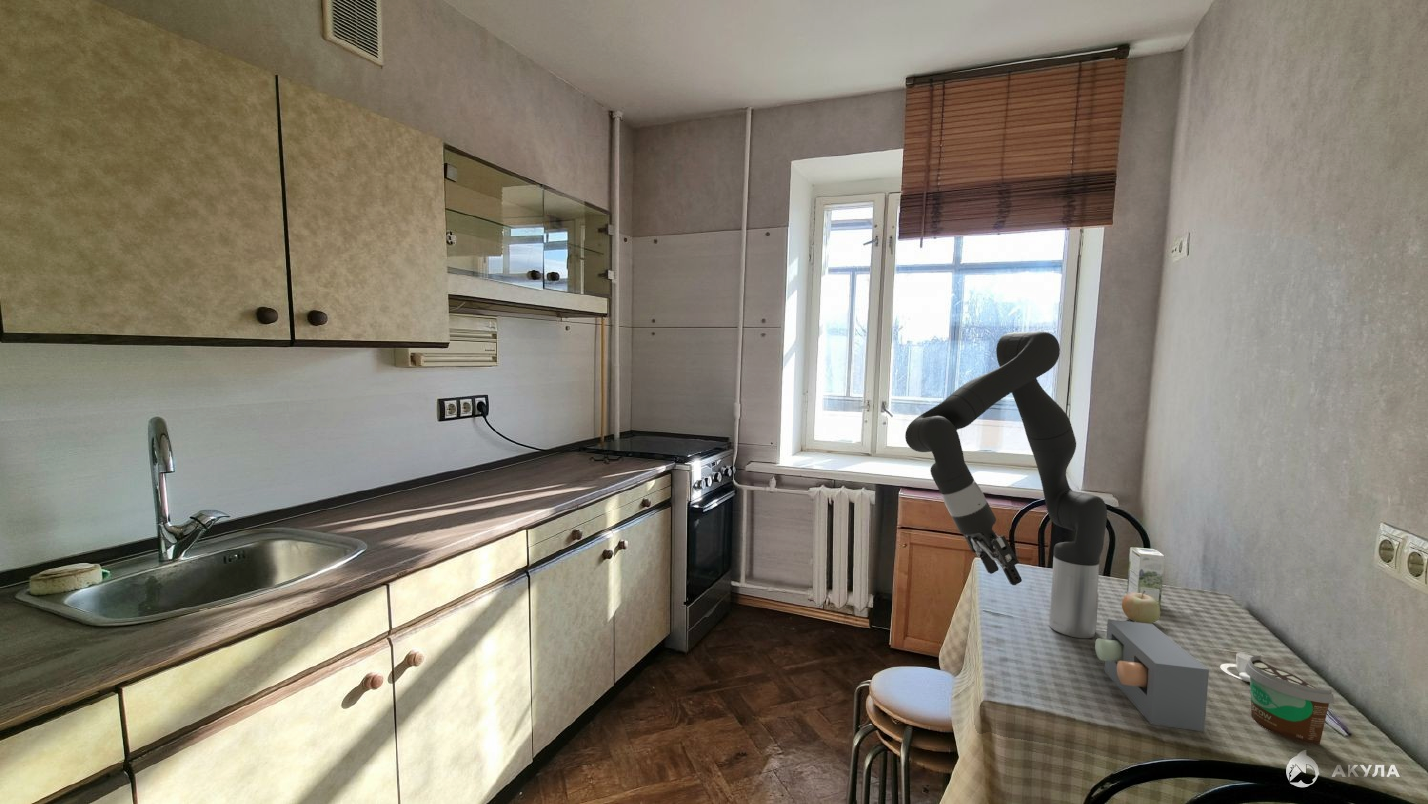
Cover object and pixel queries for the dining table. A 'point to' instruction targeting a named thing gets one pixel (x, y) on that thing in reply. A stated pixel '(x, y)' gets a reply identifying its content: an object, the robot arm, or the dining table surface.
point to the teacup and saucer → (1239, 666)
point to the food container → (1287, 702)
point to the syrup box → (1146, 572)
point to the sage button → (1109, 650)
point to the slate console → (1161, 676)
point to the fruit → (1141, 608)
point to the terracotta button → (1132, 673)
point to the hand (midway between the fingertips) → (1004, 577)
